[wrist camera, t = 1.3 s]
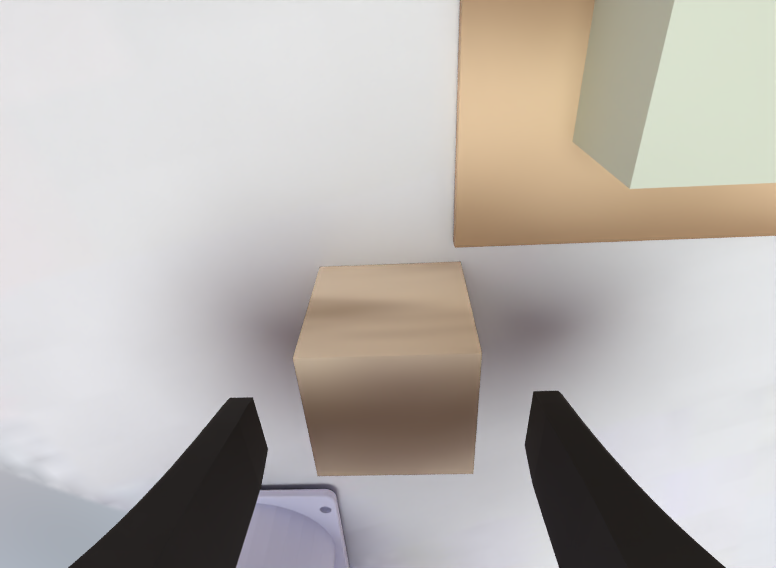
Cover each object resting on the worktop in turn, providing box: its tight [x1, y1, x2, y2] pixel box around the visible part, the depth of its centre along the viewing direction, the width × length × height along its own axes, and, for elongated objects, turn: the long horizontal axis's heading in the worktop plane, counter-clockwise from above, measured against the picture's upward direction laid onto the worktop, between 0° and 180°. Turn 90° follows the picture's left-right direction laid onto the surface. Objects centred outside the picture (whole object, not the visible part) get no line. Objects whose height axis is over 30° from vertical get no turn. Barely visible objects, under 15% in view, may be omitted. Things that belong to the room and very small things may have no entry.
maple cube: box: [293, 262, 482, 476], centre depth 14 cm, size 4×4×4 cm
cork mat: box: [453, 0, 776, 248], centre depth 10 cm, size 12×12×1 cm
